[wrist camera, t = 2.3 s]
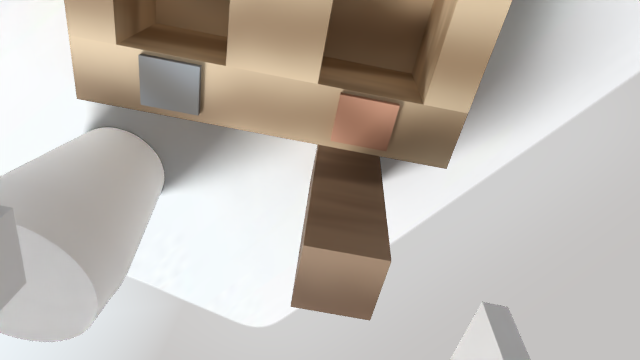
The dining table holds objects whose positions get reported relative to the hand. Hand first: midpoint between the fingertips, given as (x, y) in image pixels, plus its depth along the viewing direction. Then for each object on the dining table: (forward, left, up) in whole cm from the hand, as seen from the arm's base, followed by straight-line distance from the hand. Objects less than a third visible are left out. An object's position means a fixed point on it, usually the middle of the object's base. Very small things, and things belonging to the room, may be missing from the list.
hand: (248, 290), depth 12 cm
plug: (+5, +3, -18) cm, 19 cm away
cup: (+9, -13, -18) cm, 24 cm away
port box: (-5, -2, -18) cm, 19 cm away
